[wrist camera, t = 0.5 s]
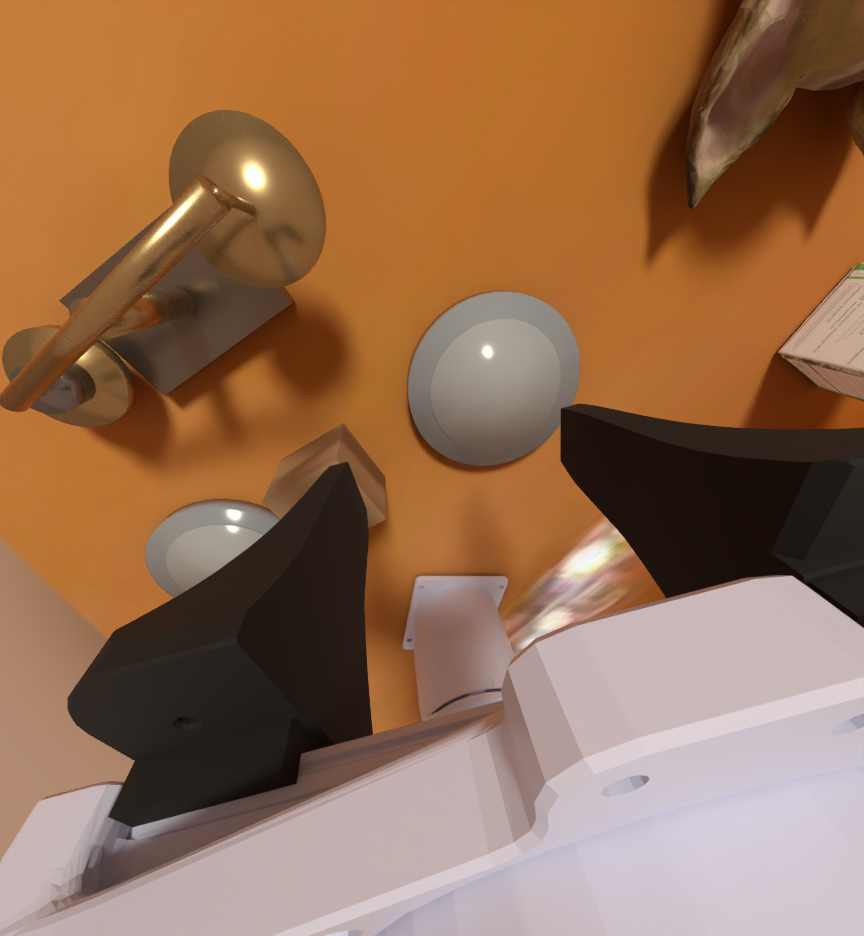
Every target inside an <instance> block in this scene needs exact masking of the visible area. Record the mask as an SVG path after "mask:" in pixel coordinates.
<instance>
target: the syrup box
mask: <svg viewBox="0 0 864 936" xmlns="http://www.w3.org/2000/svg"><path fill="white" fill-rule="evenodd" d="M778 354H779V355H780V356H781V357H782V358H783V359H785V360H786V361H787V362H789V363H790V364H791V365H792V366H794V367H795V368H796V369H797V370H799V371H800V372H801V373H802V374H803V375H805V376H806V377H807V378H808V379H810V380H811V381H812V382H813V383H814V384H816V385H817V386H818V387H819V388H822V389H825V390H828V391H831V392H835V393H838V394H841V395H845V396H848V397H852V398H855V399H858V400H861V401H864V262H862V263H860V264H859V265H856V266H855V267H854V268H853V269H852V270H851V271H850V272H849V273H848V274H847V275H846V276H845V277H844V279H843V280H842V281H841V282H840V283H839V284H838V285H837V286H836V287H835V289H834V290H833V291H832V292H831V293H830V294H829V295H828V296H827V297H826V298H825V299H824V301H823V302H822V303H821V304H820V305H819V306H818V307H817V308H816V309H815V311H814V312H813V313H812V314H811V315H810V316H809V317H808V318H807V319H806V320H805V322H804V323H803V324H802V325H801V326H800V327H799V329H798V330H797V331H796V332H795V333H794V334H793V335H792V336H791V337H790V339H789V340H788V341H787V342H786V343H785V344H784V345H783V346H782V348H781V349H780V350H779V351H778Z"/></svg>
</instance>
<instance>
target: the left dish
mask: <svg viewBox="0 0 864 936" xmlns="http://www.w3.org/2000/svg"><path fill="white" fill-rule="evenodd" d="M280 520H281V519H280V518H279V517H278V516H277V515H276V514H274V513H273V512H272V511H271V510H270V509H268V508H265V507H263V506H260V505H257V504H253V503H250V502H245V501H239V500H230V499H214V500H204V501H200V502H195V503H192V504H189V505H186V506H184V507H181V508H179V509H177V510H176V511H174V512H173V513H171V514H170V515H168V516H167V517H166V518H165V519H164V520H163V521H162V523H161V524H160V525H159V526H158V527H157V529H156V530H155V531H154V532H153V534H152V535H151V537H150V538H149V540H148V543H147V545H146V550H145V560H146V565H147V568H148V570H149V572H150V574H151V576H152V577H153V579H154V580H155V581H156V583H157V584H158V585H159V586H160V587H161V588H162V589H163V590H165V591H166V592H167V593H168V594H170V595H171V596H173V597H174V598H175V597H177V596H178V595H180V594H182V593H183V592H185V591H187V590H188V589H190V588H191V587H193V586H195V585H196V584H198V583H199V582H201V581H203V580H204V579H206V578H207V577H209V576H210V575H212V574H213V573H215V572H216V571H218V570H219V569H220V568H222V567H223V566H225V565H226V564H227V563H229V562H230V561H231V560H233V559H234V558H235V557H237V556H238V555H239V554H241V553H242V552H243V551H245V550H246V549H247V548H249V547H250V546H251V545H252V544H254V543H255V542H256V541H257V540H258V539H260V538H261V537H262V536H263V535H264V534H265V533H267V532H268V531H269V530H270V529H271V528H272V527H273V526H274V525H275V524H276V523H277V522H279V521H280Z"/></svg>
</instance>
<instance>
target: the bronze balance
mask: <svg viewBox="0 0 864 936" xmlns="http://www.w3.org/2000/svg"><path fill="white" fill-rule="evenodd" d="M169 186H170V193H171V198H172V202H173V205H172V206H171V207H170V208H168V209H167V210H166V211H165V212H164V213H163V214H161V215H160V216H159V217H158V218H157V219H155V220H154V221H153V222H152V223H151V224H150V225H148V226H147V227H146V228H145V229H144V230H142V231H141V232H140V233H139V234H138V235H136V236H135V237H134V238H133V239H132V240H131V241H129V242H128V243H127V244H126V245H125V246H123V247H122V248H121V249H120V250H119V251H118V252H116V253H115V254H114V255H113V256H112V257H110V258H109V259H108V260H107V261H106V262H104V263H103V264H102V265H101V266H100V267H99V268H97V269H96V270H95V271H94V272H93V273H91V274H90V275H89V276H88V277H87V278H86V279H84V280H83V281H82V282H81V283H80V284H78V285H77V286H76V287H75V288H74V289H72V290H71V291H70V292H69V293H68V294H67V295H65V296H64V297H63V298H62V299H61V300H59V301H60V302H61V303H62V304H63V305H65V306H66V307H67V308H68V309H69V313H70V318H69V319H68V320H67V321H66V322H65V323H64V324H63V326H57V325H47V326H39V327H34V328H29V329H25V330H22V331H20V332H17V333H16V334H14V335H13V336H11V338H10V339H9V340H8V341H7V342H6V344H5V346H4V349H3V355H2V360H3V366H4V370H5V372H6V375H7V377H8V379H9V381H10V384H9V385H8V386H7V387H6V388H5V389H4V390H3V391H2V393H1V394H0V405H1V406H2V407H4V408H5V409H7V410H10V411H15V412H22V411H26V410H28V409H29V408H32V409H34V410H36V411H39V412H42V413H44V414H46V415H48V416H49V417H52V418H54V419H56V420H58V421H61V422H64V423H67V424H71V425H75V426H81V427H99V426H104V425H108V424H110V423H112V422H114V421H116V420H117V419H119V418H121V417H122V416H124V415H125V414H126V413H128V412H129V410H130V409H131V408H132V406H133V404H134V401H135V395H136V391H135V384H134V380H133V378H132V375H131V373H130V371H129V370H128V368H127V367H126V365H125V364H124V362H123V361H122V360H121V359H120V357H119V356H118V355H117V354H116V353H115V352H114V351H113V350H111V349H110V348H109V347H108V346H106V345H105V344H104V343H102V342H101V341H99V340H104V341H105V342H106V343H107V344H108V345H109V346H110V347H111V348H112V349H114V350H115V351H116V352H117V353H118V354H119V355H120V356H121V357H122V358H124V359H125V360H126V361H127V362H128V363H129V364H130V365H131V366H132V367H134V368H135V369H136V370H137V371H138V372H139V373H140V374H141V375H143V376H144V377H145V378H146V379H147V380H148V381H149V382H150V383H151V384H153V385H154V386H155V387H156V388H157V389H158V390H159V391H160V392H161V393H163V394H164V395H166V394H168V393H170V392H171V391H173V390H174V389H176V388H177V387H179V386H180V385H181V384H183V383H184V382H185V381H187V380H188V379H189V378H191V377H192V376H194V375H195V374H196V373H198V372H199V371H200V370H202V369H203V368H205V367H206V366H207V365H209V364H210V363H211V362H213V361H214V360H216V359H217V358H218V357H220V356H221V355H222V354H224V353H225V352H227V351H228V350H229V349H231V348H232V347H233V346H235V345H236V344H238V343H239V342H240V341H242V340H243V339H244V338H246V337H247V336H249V335H250V334H251V333H253V332H254V331H255V330H257V329H258V328H260V327H261V326H262V325H264V324H265V323H266V322H268V321H269V320H271V319H272V318H273V317H275V316H276V315H277V314H279V313H280V312H282V311H283V310H284V309H286V308H287V307H288V306H290V305H291V304H293V303H294V302H295V301H294V300H293V298H292V297H291V296H290V294H289V293H288V292H287V290H286V289H285V288H284V286H286V285H290V284H292V283H294V282H297V281H298V280H300V279H301V278H303V277H304V276H305V275H306V274H308V273H309V272H310V270H311V269H312V268H313V267H314V265H315V264H316V262H317V261H318V259H319V257H320V254H321V252H322V249H323V245H324V241H325V235H326V215H325V208H324V203H323V199H322V195H321V192H320V189H319V187H318V184H317V182H316V179H315V177H314V176H313V174H312V172H311V170H310V168H309V167H308V165H307V164H306V162H305V161H304V159H303V158H302V156H301V155H300V153H299V152H298V151H297V150H296V148H295V147H294V146H293V145H292V144H291V142H290V141H289V140H288V139H287V138H285V137H284V136H283V135H282V134H281V133H280V132H279V131H278V130H276V129H275V128H274V127H272V126H271V125H269V124H268V123H266V122H264V121H263V120H261V119H259V118H257V117H254V116H252V115H250V114H246V113H243V112H239V111H232V110H218V111H213V112H209V113H206V114H204V115H201V116H199V117H197V118H196V119H194V120H193V121H192V122H190V123H189V124H188V125H187V126H186V127H185V128H184V129H183V131H182V132H181V134H180V135H179V137H178V138H177V140H176V143H175V145H174V147H173V150H172V154H171V158H170V165H169Z"/></svg>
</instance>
